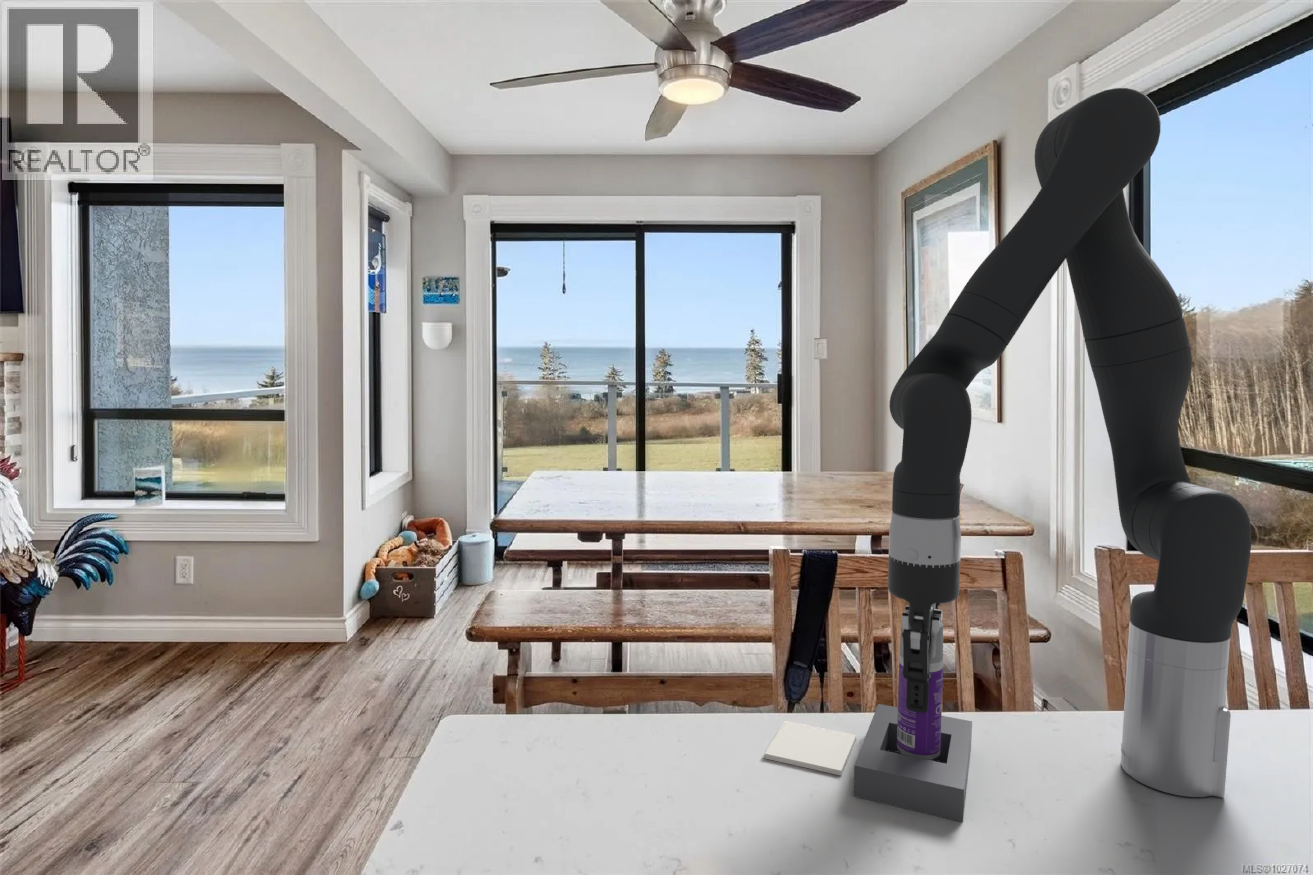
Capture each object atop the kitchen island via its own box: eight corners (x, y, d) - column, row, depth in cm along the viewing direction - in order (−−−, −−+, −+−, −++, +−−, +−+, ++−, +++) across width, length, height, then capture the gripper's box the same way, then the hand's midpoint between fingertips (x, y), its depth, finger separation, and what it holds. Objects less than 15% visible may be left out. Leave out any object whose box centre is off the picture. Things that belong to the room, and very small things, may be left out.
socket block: (970, 748, 92) (972, 721, 91) (962, 822, 77) (964, 789, 77) (877, 730, 96) (878, 703, 96) (853, 796, 82) (854, 765, 82)
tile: (856, 739, 94) (856, 735, 94) (841, 775, 86) (841, 770, 86) (785, 725, 98) (785, 720, 98) (764, 758, 90) (764, 753, 90)
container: (943, 762, 84) (947, 630, 82) (899, 757, 85) (902, 627, 83) (936, 740, 88) (940, 616, 87) (894, 737, 89) (897, 613, 88)
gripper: (956, 573, 76) (950, 736, 78) (964, 542, 89) (959, 681, 91) (878, 565, 79) (875, 721, 81) (897, 536, 92) (894, 671, 94)
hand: (919, 699), depth 86 cm, fingers closed on container, 4 cm apart
